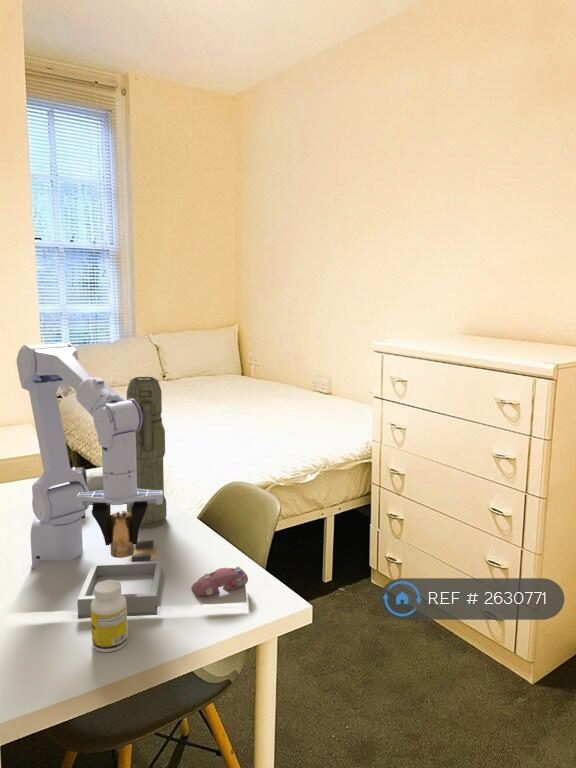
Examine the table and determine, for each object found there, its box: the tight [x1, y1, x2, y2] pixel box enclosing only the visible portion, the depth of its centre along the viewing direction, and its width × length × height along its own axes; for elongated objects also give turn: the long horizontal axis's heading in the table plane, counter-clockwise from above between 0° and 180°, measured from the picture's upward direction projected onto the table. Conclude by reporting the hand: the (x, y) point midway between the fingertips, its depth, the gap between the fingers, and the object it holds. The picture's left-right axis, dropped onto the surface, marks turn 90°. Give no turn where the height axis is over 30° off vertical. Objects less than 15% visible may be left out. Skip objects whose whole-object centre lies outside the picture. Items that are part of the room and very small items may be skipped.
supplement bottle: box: [90, 579, 129, 653], centre depth 93 cm, size 5×5×10 cm
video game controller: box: [190, 566, 249, 597], centre depth 108 cm, size 10×5×7 cm, turn 118°
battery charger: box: [70, 466, 88, 519], centre depth 144 cm, size 7×4×11 cm, turn 18°
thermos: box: [126, 376, 168, 530], centre depth 135 cm, size 9×12×35 cm
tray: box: [76, 560, 164, 619], centre depth 108 cm, size 13×13×4 cm
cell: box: [109, 510, 135, 559], centre depth 106 cm, size 4×4×8 cm
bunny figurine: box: [87, 471, 103, 492], centre depth 160 cm, size 10×5×15 cm
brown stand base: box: [128, 539, 157, 562], centre depth 121 cm, size 12×10×4 cm
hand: (121, 542), depth 106 cm, fingers closed on cell, 4 cm apart
